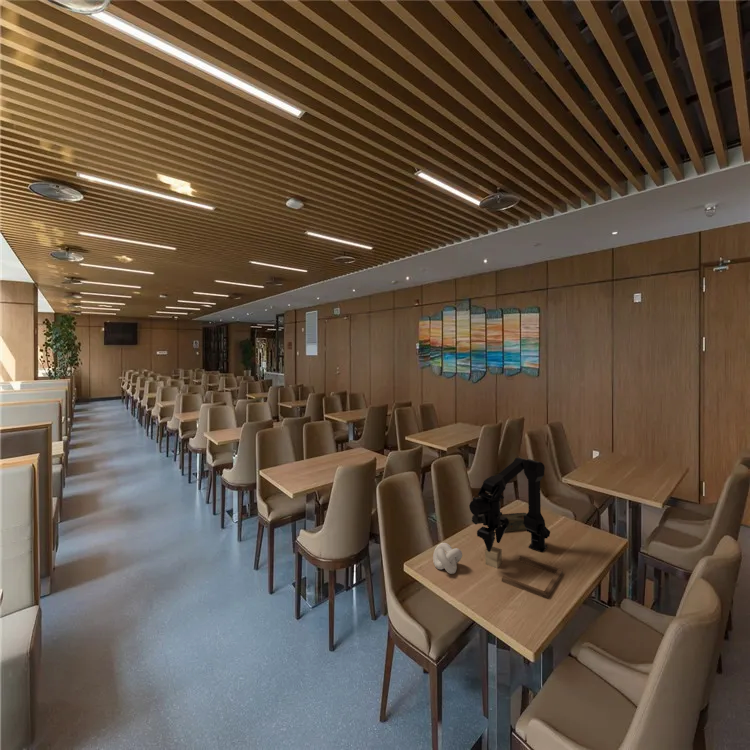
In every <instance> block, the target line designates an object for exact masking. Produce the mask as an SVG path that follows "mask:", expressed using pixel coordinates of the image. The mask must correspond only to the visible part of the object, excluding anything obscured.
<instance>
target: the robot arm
mask: <svg viewBox="0 0 750 750" xmlns="http://www.w3.org/2000/svg"><path fill="white" fill-rule="evenodd" d="M521 472H523V473H524V475H525V477H526V479H527V486H528V487H527V494H528V496H527V500H528V512H526V513H527V514H526V515H524V523H523V524H524V526H525V527H526V530H525V531H526V532H528V533H530V544H529V545H528V548H529V549H532V550H534V551H538V552H541V553H544V552H545V551H546V549H547V548H548V545H547V544H546V539H549V537H550V535H551V531H550V530H549V529H548V528H547V527H546V521H545V518H544V517H543V515H542V513H541V510H542V509H541V481H542V479H543V478H544V477H545V464H544V463H543V462H541V461H537V460H533V459H530V458H529V459H526V458H522V457H516V458H515V459H513V461H512V462H511V463H510V464H509V465H507V466H506V467H505V468H504V469H502V470H501V471H500V472H499V473H498V474H495V475H491V476H489V477H487V478H485V479H484V480H483V482H482V485H481V486H480V489H479V491H478V493H477V497H472V500H471V501H470V503H469V511H470V512H471V514H472V517H471V522H472V523H473V524H474V525H478V524H479V525H480V524H482V525H483V526H481V527H480V528H479V529H477V530H476V536H477V537H479V538H481V539H482V540H483V542H484V544H485V548H486V549H487V551H488V552H490V551H491V549H492V546H493V547H494V543H495V541H496V543H497V544H500V543H501V540H502V538H503V536H504V534H505V533H506V532H505V530H506V528H507V525H509V520H508V519H507V517H503V516H501V515H502V514H503V512H502V511H501V500H503V499H504V498H505V496H503V495H502V494H503V493H504V491H505V490H506V485H508V483H509V482H511V481H512V480H513V479H514V478H515V477H516V476H518V475H519V474H520V473H521ZM486 526H487V527H486ZM495 539H496V540H495Z"/></svg>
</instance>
